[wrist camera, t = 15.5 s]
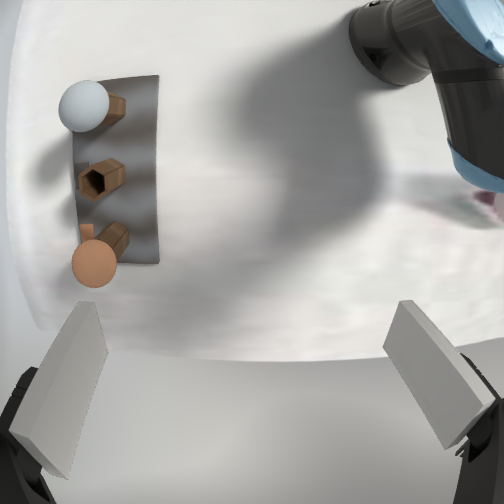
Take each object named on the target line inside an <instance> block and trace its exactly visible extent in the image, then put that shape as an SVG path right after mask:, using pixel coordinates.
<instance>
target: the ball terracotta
mask: <svg viewBox="0 0 504 504" xmlns="http://www.w3.org/2000/svg"><path fill="white" fill-rule="evenodd" d="M116 267H117V261H116V256H115V254H114V251H113V250H112V248H111V247H110V246H109V245H108V244H106V243H105V242H103V241H100V240H95V239H93V240H87V241H85V242H83V243H81V244H80V245H79V246H78V247H77V248H76V250H75V252H74V254H73V257H72V270H73V273H74V275H75V277H76V279H77V280H78V281H79V282H80V283H81V284H83V285H85V286H87V287H91V288H98V287H102V286H104V285H106V284H107V283H108V282H109V281H110V280H111V279H112V278H113V276H114V274H115V272H116Z"/></svg>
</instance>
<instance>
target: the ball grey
mask: <svg viewBox="0 0 504 504" xmlns="http://www.w3.org/2000/svg"><path fill="white" fill-rule="evenodd" d="M108 109H109V97H108V93H107V91H106V90H105V88H104V87H103V86H102V85H101V84H99V83H97V82H95V81H90V80H86V81H80V82H77V83H75V84H74V85H72V86H71V87H69V88H68V89H67V90H66V91H65V93H64V94H63V96H62V98H61V100H60V103H59V117H60V119H61V121H62V123H63V124H64V126H65V127H67V128H68V129H69V130H72V131H75V132H86V131H89V130H92V129H93V128H95V127H97V126H98V125H99V124H100V123H101V122H102V121H103V119H104V118H105V116H106V114H107V112H108Z"/></svg>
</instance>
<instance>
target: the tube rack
mask: <svg viewBox="0 0 504 504" xmlns="http://www.w3.org/2000/svg"><path fill="white" fill-rule="evenodd" d="M97 83H99V84H101V85H102V86H103V87H104V88H105V90H106V91H107V93H108V97H109V109H108V112H107V114H106V116H105V118H104V119H103V121H102V122H101V123H100V124H99V125H98V126H97V127H95V128H93V129H92V130H89V131H86V132H75V131H73V166H74V183H75V196H76V206H77V216H78V224H79V232H80V239H81V243H83V242H85V241H87V240H93V239H95V240H100V241H103V242H105V243H106V244H108V245H109V246H110V247H111V248H112V250H113V251H114V254H115V256H116V261H117V263H143V264H159V261H160V260H159V245H158V227H157V200H156V131H157V106H158V88H159V75H151V76H138V77H128V78H119V79H111V80H104V81H97Z"/></svg>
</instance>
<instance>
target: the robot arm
mask: <svg viewBox="0 0 504 504" xmlns="http://www.w3.org/2000/svg"><path fill="white" fill-rule="evenodd" d="M349 34H350V40H351V44H352V47H353V49H354V51H355V53H356V55H357V57H358V58H359V60H360V61H361V63H362V64H363V65H364V66H365V67H366V68H367V69H368V70H369V71H370V72H371V73H372V74H373V75H375V76H376V77H378V78H379V79H381V80H383V81H385V82H387V83H390V84H394V85H408V84H414V83H417V82H420V81H421V80H423V79H424V78H425V77H426V76H427V75H429V74H430V73H432V76H433V79H434V82H435V86H436V89H437V93H438V97H439V100H440V104H441V108H442V112H443V117H444V121H445V126H446V130H447V135H448V138H447V141H448V145H449V147H450V148H451V153H452V157H453V162H454V166H455V168H456V170H457V171H458V173H459V174H460V175H461V176H462V177H463V178H464V179H465V180H466V181H468V182H469V183H471V184H473V185H475V186H477V187H479V188H482V189H485V190H488V191H492V192H496V193H504V5H503V4H502V3H501V2H500V0H377V1H372V2H369V3H367V4H365V5H364V6H362V7H361V8H360V9H358V10H357V11H356V12H355V13H354V15H353V17H352V19H351V22H350V27H349ZM383 348H384V350H385V351H386V353H387V354H388V356H389V358H390V359H391V361H392V362H393V364H394V365H395V367H396V369H397V370H398V372H399V373H400V375H401V377H402V378H403V380H404V381H405V383H406V385H407V386H408V388H409V389H410V391H411V393H412V394H413V396H414V398H415V399H416V401H417V403H418V404H419V406H420V408H421V409H422V411H423V413H424V414H425V416H426V417H427V420H428V421H429V423H430V425H431V426H432V428H433V430H434V432H435V434H436V435H437V437H438V439H439V440H440V442H441V444H442V446H443V448H444V450H446V449H448V448H450V447H452V446H454V445H456V444H458V443H459V442H460V441H461V440H462V439H463V438H464V437H465V436H466V435H467V437H468V440H467V441H466V442H465V443H464V444H463V445H462V446H461V447H460V448H459V450H457V451H456V454H455V456H457V455H458V454H459V453H461V451H463V450H464V452H463V453H462V454H461V455H460V457H463V459H462V465H461V470H460V475H459V480H458V485H457V489H456V493H455V498H454V501H453V504H504V398H503V399H501V397H500V396H499V395H498V394H497V392H496V391H495V390H494V389H493V387H492V386H491V385H490V383H489V382H488V381H487V380H486V378H485V377H484V376H483V375H481V374H482V373H481V372H480V371H479V370H478V369H476V368H477V367H476V366H475V365H474V364H473V362H472V361H471V360H470V359H469V358H467V357H466V356H465V355H463V354H461V353H459V352H458V351H457V350H456V348H455V347H454V346H453V345H452V344H451V343H450V341H449V340H448V339H447V338H446V337H445V336H444V335H443V333H442V332H441V331H440V330H439V329H438V328H437V327H436V326H435V324H434V323H433V322H432V321H431V320H430V319H429V318H428V317H427V316H426V314H425V313H424V312H423V311H422V310H421V309H420V308H419V307H418V306H417V305H416V304H415V303H414V302H413V300H406V301H399V304H398V307H397V310H396V313H395V316H394V318H393V321H392V324H391V327H390V329H389V332H388V335H387V337H386V340H385V342H384V345H383ZM107 355H108V350H107V347H106V344H105V340H104V337H103V333H102V329H101V326H100V322H99V318H98V314H97V310H96V306H95V302H81V301H79V302H78V303H77V305H76V306H75V308H74V310H73V311H72V313H71V314H70V316H69V317H68V319H67V321H66V322H65V324H64V325H63V327H62V329H61V330H60V332H59V334H58V336H57V337H56V339H55V341H54V342H53V344H52V346H51V347H50V349H49V351H48V353H47V354H46V356H45V358H44V360H43V361H42V363H41V365H40V367H39V368H35V367H30V368H29V369H28V370H27V371H26V372H25V373H23V374H22V375H21V377H20V379H19V381H18V383H17V385H16V388H14V390H13V392H12V396H11V397H10V398H9V400H8V402H7V404H6V406H5V408H4V410H3V412H2V414H1V416H0V504H56V502H55V500H54V498H53V496H52V494H51V492H50V490H49V488H48V486H47V484H46V482H45V480H44V478H43V476H42V475H41V473H40V472H41V469H42V467H43V468H44V469H45V470H46V471H47V472H48V473H49V474H51V475H54V476H57V477H60V478H64V479H67V480H69V476H70V472H71V468H72V464H73V460H74V456H75V453H76V449H77V445H78V442H79V438H80V435H81V431H82V428H83V425H84V421H85V418H86V415H87V411H88V409H89V405H90V402H91V399H92V396H93V394H94V390H95V388H96V384H97V382H98V379H99V376H100V374H101V371H102V368H103V365H104V362H105V360H106V357H107Z"/></svg>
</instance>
